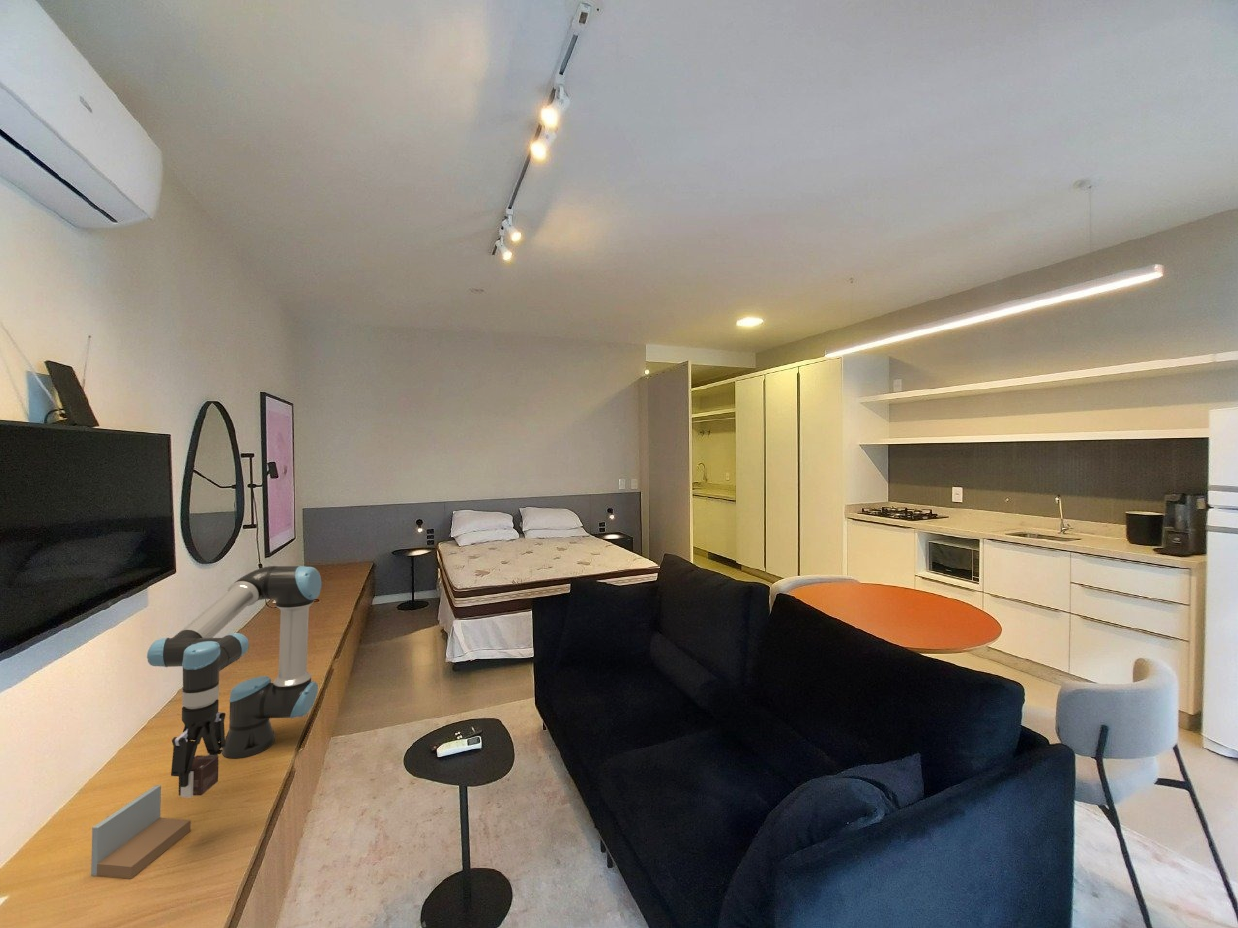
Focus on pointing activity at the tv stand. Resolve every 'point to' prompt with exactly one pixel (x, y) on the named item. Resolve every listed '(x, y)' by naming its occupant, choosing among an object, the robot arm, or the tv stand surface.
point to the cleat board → (134, 837)
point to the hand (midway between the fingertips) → (198, 787)
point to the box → (203, 774)
